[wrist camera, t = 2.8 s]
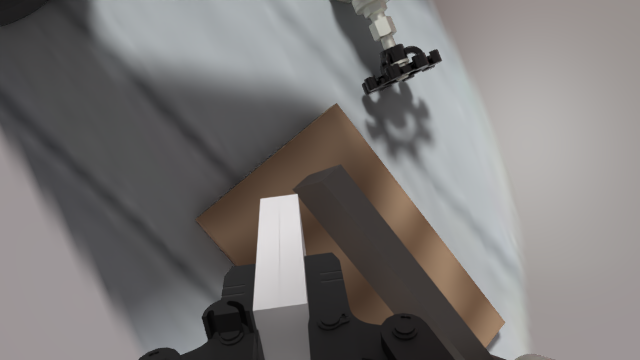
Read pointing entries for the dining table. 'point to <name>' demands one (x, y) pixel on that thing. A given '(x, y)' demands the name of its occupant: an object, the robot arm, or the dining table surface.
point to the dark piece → (387, 260)
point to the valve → (391, 48)
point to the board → (385, 195)
